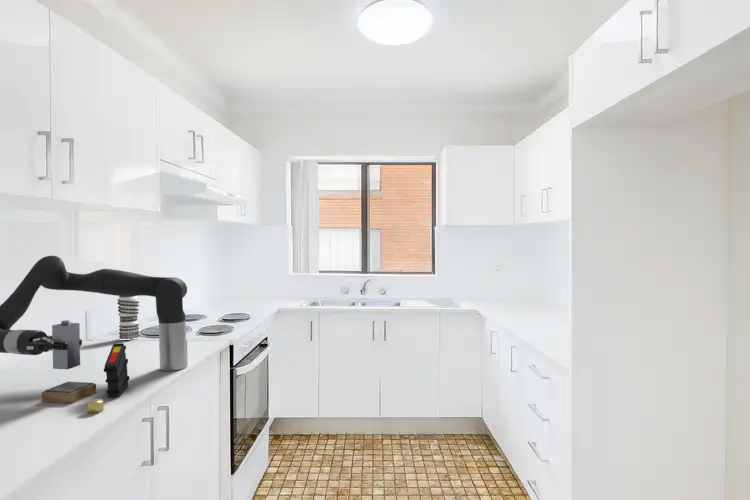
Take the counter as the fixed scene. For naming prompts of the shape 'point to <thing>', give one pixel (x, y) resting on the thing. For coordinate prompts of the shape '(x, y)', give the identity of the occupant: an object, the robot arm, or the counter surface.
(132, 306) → the decorative candle
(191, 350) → the counter surface
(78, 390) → the stand
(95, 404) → the short brass cylinder
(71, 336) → the block
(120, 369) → the black ridged block
